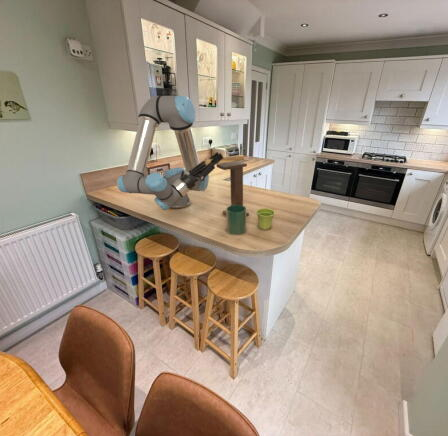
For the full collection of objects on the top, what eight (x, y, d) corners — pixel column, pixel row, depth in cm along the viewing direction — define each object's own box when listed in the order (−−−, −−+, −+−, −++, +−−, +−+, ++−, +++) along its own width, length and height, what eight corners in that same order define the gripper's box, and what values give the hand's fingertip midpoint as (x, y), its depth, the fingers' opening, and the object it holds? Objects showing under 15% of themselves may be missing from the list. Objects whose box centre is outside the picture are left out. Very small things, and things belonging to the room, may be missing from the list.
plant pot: (272, 222, 127) (273, 208, 123) (275, 231, 119) (276, 215, 115) (255, 223, 127) (255, 208, 123) (256, 231, 118) (257, 216, 115)
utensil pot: (223, 228, 121) (222, 207, 116) (239, 223, 126) (238, 203, 121) (233, 236, 114) (233, 214, 109) (249, 231, 119) (249, 209, 114)
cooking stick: (204, 164, 115) (204, 159, 114) (241, 159, 126) (241, 154, 125) (207, 165, 113) (206, 160, 112) (243, 159, 125) (243, 155, 124)
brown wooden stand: (217, 214, 136) (215, 163, 123) (238, 209, 144) (237, 160, 131) (227, 221, 128) (225, 167, 115) (248, 215, 136) (249, 164, 123)
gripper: (182, 186, 120) (216, 158, 125) (195, 195, 108) (231, 163, 114) (174, 175, 115) (209, 146, 120) (186, 183, 103) (224, 151, 109)
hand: (220, 155), depth 117 cm, fingers closed on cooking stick, 2 cm apart
